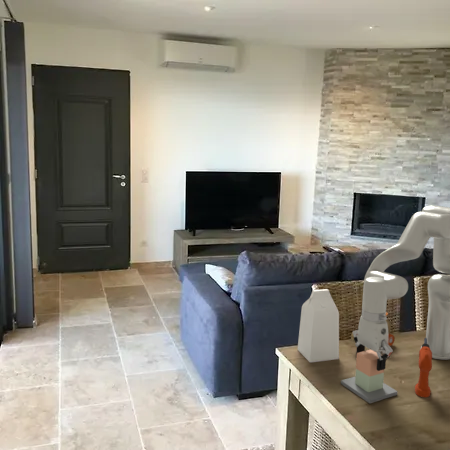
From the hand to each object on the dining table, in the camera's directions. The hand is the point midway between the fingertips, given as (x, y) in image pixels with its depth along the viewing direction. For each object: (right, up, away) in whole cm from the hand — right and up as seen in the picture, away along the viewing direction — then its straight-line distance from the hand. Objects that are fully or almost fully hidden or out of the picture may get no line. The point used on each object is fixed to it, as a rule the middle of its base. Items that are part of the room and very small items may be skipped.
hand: (370, 363), depth 166 cm
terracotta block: (0, -2, 0) cm, 2 cm away
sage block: (0, -8, +2) cm, 8 cm away
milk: (-12, -4, +28) cm, 31 cm away
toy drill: (+19, -9, +5) cm, 22 cm away
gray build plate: (0, -9, +2) cm, 9 cm away
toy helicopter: (+11, -3, +36) cm, 37 cm away
